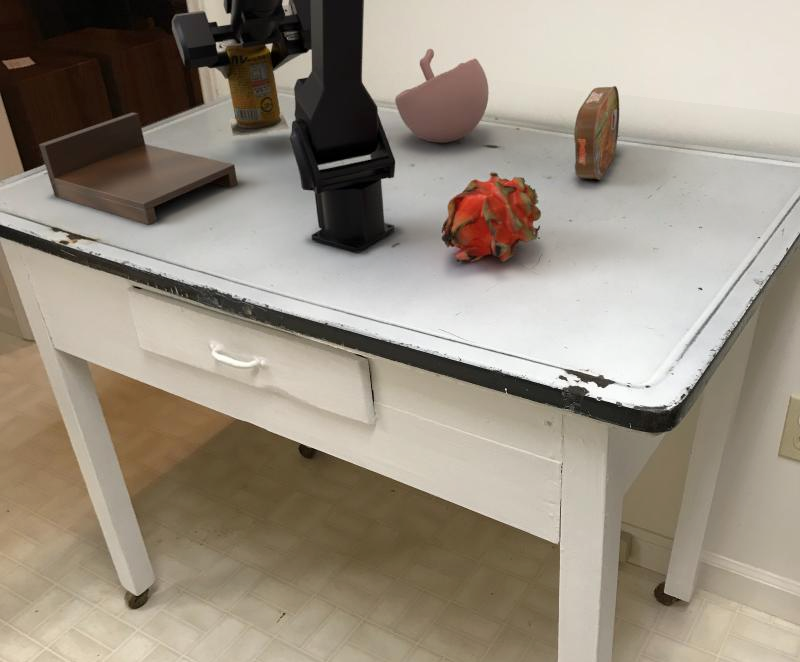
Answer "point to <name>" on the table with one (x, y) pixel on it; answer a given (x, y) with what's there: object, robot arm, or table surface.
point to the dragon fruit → (491, 218)
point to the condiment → (253, 91)
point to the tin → (596, 132)
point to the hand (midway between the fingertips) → (249, 71)
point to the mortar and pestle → (445, 101)
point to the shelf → (125, 169)
